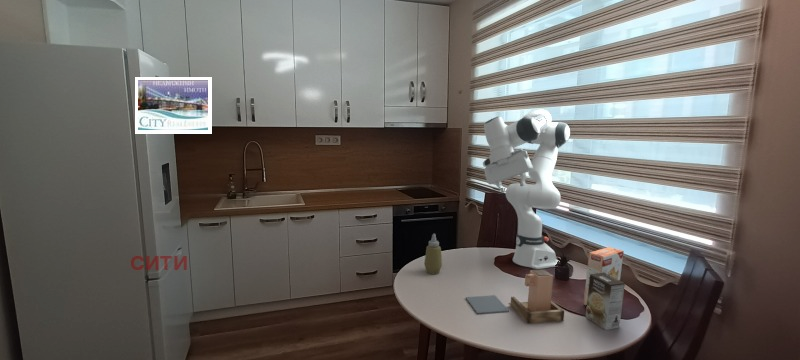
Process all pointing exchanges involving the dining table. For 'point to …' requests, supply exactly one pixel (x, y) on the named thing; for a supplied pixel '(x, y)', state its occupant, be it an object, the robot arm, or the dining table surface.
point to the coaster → (486, 304)
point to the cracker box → (604, 265)
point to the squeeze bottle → (433, 256)
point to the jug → (539, 290)
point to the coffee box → (605, 300)
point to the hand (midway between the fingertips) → (513, 189)
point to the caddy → (537, 312)
